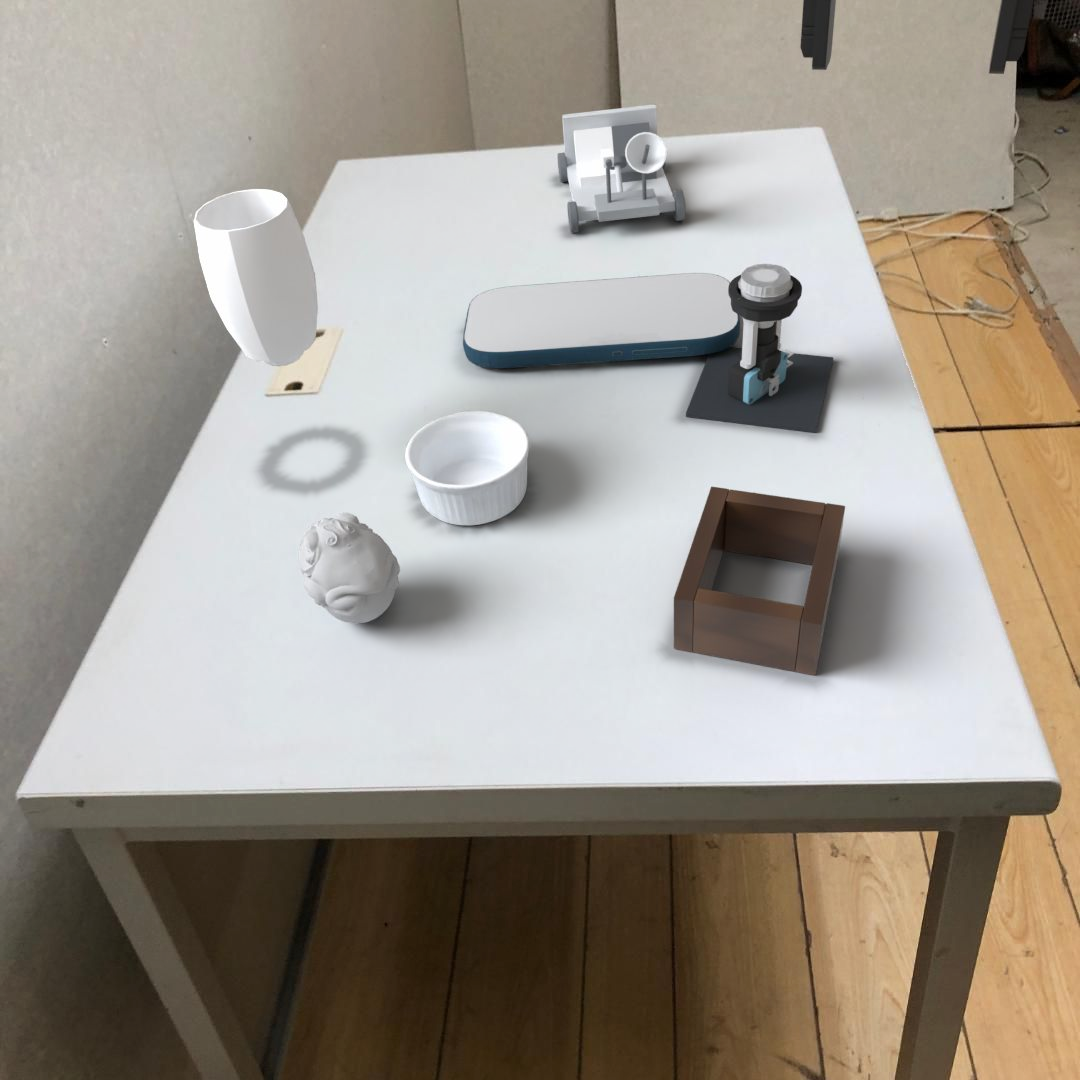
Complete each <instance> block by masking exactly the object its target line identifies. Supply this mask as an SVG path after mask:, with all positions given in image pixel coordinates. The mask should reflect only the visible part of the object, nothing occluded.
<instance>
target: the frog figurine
mask: <svg viewBox="0 0 1080 1080" xmlns="http://www.w3.org/2000/svg"><path fill="white" fill-rule="evenodd" d="M298 563H299V567H300V570H301V574H303V576H304V582H303V585H304V589H305V591H306V592H307V594H308V596H309V597H311V598H312V599H313V602H314V603H315V604H316V605H318V606H322V608H324V609H325V610H326V611H327V612H328V613H329V614H330V615H331V616H332V617H334V618H336V619H337V620H339V621H341V622H344V623H348V624H364V623H368V622H371V621H374V620H375V619H377V618H379V617H380V616H381V615H383V614H384V613H385V612H386V611H387V610H388V609H389V607H390V606H391V604H392V602H393V599H394V596H395V593H396V589H397V588H399V586H400V584H401V583H400V580H399V574H400V572H401V566H400V564H399V562H398V559H397V557H396V555H395V554H394V553H393V551H392V550H391V547H390V546H389V544H388V543H387V542H385V540H384V539H383V538H382V537H381V535H379V534H378V533H375V532H374V530H373V528H371V527H369V525H367V524H366V523H364V522H363V523H362V522H360V520H359V518H358V517H357V516H356V515H355V514H353V513H349V512H342V513H339V514H337V515H335V516H334V517H330V518H329V517H328V518H323V519H320V520H318V521H316V522H314V523H313V524H311V525H310V526H308V528H307V529H306V530H305V532H304V534H303V536H302V539H301V542H300V547H299V552H298Z"/></svg>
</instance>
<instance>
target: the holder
mask: <svg viewBox="0 0 1080 1080" xmlns="http://www.w3.org/2000/svg"><path fill="white" fill-rule="evenodd" d="M845 512H846V505H843V504H835V503H828V502H827V503H825V502H821V501H815V500H806V499H800V498H793V497H787V496H786V497H785V496H780V495H773V494H765V493H760V492H759V493H758V492H751V491H745V490H737V489H729V488H727V487H726V488H725V487H720V486H719V487H718V486H711V487H710V489H709V492H708V495H707V497H706V501H705V504H704V507H703V510H702V513H701V515H700V518H699V522H698V524H697V528H696V531H695V533H694V537H693V540H692V543H691V545H690V548H689V550H688V551H689V552H688V554H687V557H686V560H685V563H684V566H683V570H682V572H681V575H680V578H679V581H678V583H677V587H676V590H675V593H674V595H673V649H675V650H679V651H684V652H690V653H694V654H699V655H700V654H701V655H706V656H710V657H715V658H716V657H717V658H721V659H727V660H731V661H732V660H733V661H737V662H741V663H748V664H753V665H759V666H763V667H768V668H774V669H778V670H779V669H780V670H785V671H790V672H795V673H800V674H806V675H811V676H815V675H816V674H817V669H818V663H819V659H820V655H821V654H820V653H821V649H822V644H823V643H822V642H823V638H824V632H825V626H826V622H827V616H828V611H829V607H830V601H831V597H832V591H833V586H834V580H835V574H836V570H837V566H838V559H839V554H840V546H841V539H842V534H843V533H842V532H843V525H844V518H845ZM724 551H726V552H733V553H737V554H744V555H750V556H756V557H763V558H768V559H774V560H782V561H787V562H794V563H800V564H805V565H806V564H807V565H812V567H811V571H810V576H809V582H808V586H807V591H806V595H805V600H804V605H799V604H792V603H787V602H782V601H777V600H776V601H775V600H770V599H766V598H765V599H764V598H758V597H753V596H746V595H742V594H735V593H729V592H723V591H718V590H712V589H713V586H714V583H715V579H716V576H717V573H718V570H719V567H720V563H721V560H722V557H723V554H724Z"/></svg>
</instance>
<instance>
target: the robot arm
mask: <svg viewBox="0 0 1080 1080" xmlns="http://www.w3.org/2000/svg"><path fill="white" fill-rule="evenodd" d="M1034 2H1035V0H1000V4H999V10H998V17H997V21H996V22H997V23H996V27H995V33H994V39H993V44H992V50H991V55H990V60H989V69H988V74H990V75H992V74H993V75H994V74H995V75H1004V74H1005V70H1006V65H1007V62H1018V61H1019V59H1020V58H1021V56H1022V54H1023V53H1024V51H1025V47H1026V41H1027V36H1028V32H1029V31H1028V30H1029V27H1030V21H1031V16H1032V10H1033V5H1034ZM836 4H837V0H803V2H802V17H801V30H800V31H801V32H800V33H801V34H800V46H799V47H800V48H799V49H800V50H801V54H802V57H803V58H806V59H807V58H809V59H812V61H811V70H812V71H826V70H828V66H829V64H830V62H831V58H832V52H833V51H832V50H833V42H834V41H833V40H834V39H833V38H834V30H835V29H834V27H835V17H836Z"/></svg>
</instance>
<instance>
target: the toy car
mask: <svg viewBox="0 0 1080 1080" xmlns="http://www.w3.org/2000/svg"><path fill="white" fill-rule="evenodd" d="M657 109H658V108H657V105H656V104H645V105H639V106H629V107H628V106H627V107H620V108H611V109H602V110H593V111H592V110H591V111H584V112H575V113H567V114H562V115H561V117H562V119H561V120H562V133H563V148H564V152H558V153H557V170H558V177H559V178H558V179H559V182H561V183H565V182H568V184H569V190H570V195H571V199H572V201H568V202H567V207H566V208H567V220H568V227H569V232H570V233H571V234H573V233H579V230H580V223H579V222H588V221H596V220H597V221H598V222H599V223H600V222H610V221H618V220H627V219H628V220H629V219H637V218H644V217H654V216H660V213H668V212H669V213H670V212H672V214H673V218H674V220H675V222H682V221H684V220H685V218H686V201H685V194H684V191H683V189H681V188H680V189H674V190H673V191H672V189H671V187H670V184H669V181H668V179H667V176H666V174H665V170H666V167H667V158H668V148H667V145H666V143H665V141H664V140H663V139H662V138H661V136H659V135H658V110H657Z"/></svg>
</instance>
